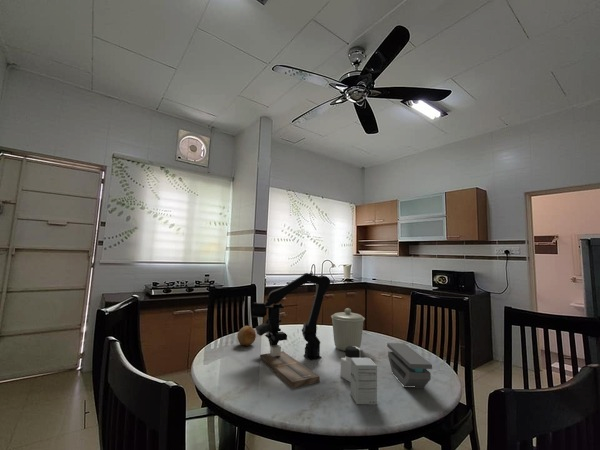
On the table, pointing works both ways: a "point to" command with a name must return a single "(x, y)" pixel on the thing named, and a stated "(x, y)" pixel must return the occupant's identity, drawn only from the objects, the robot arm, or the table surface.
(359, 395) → the supplement box
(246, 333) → the onion
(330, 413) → the table surface
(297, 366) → the board
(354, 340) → the canister
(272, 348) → the fader tab
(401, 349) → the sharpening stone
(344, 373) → the medicine bottle
